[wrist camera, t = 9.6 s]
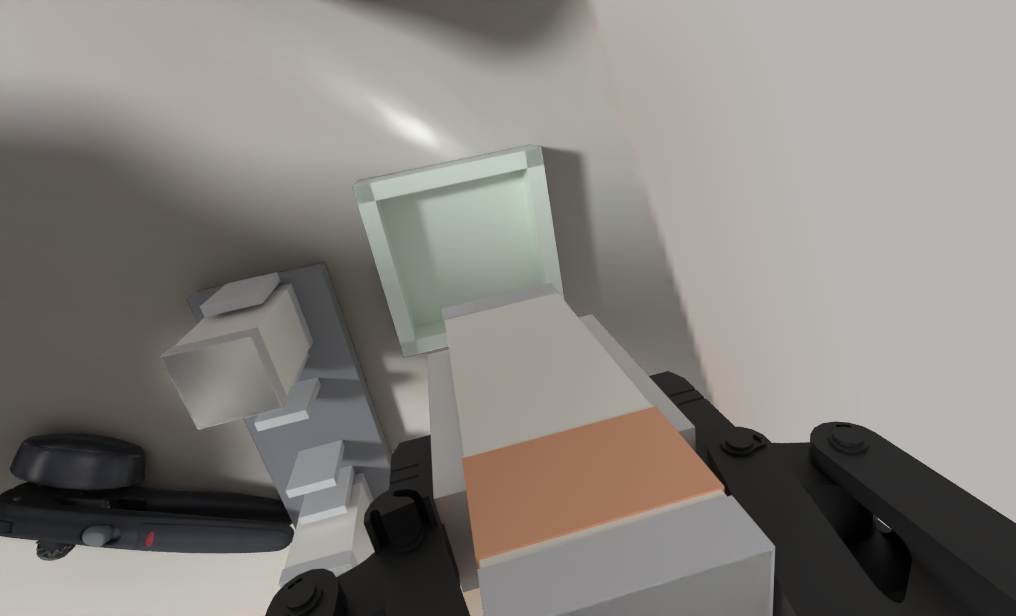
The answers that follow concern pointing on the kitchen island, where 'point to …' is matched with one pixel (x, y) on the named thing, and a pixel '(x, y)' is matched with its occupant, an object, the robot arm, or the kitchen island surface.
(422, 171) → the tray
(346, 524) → the grey block
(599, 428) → the block
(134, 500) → the can opener
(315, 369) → the block
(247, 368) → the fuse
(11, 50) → the kitchen island surface
